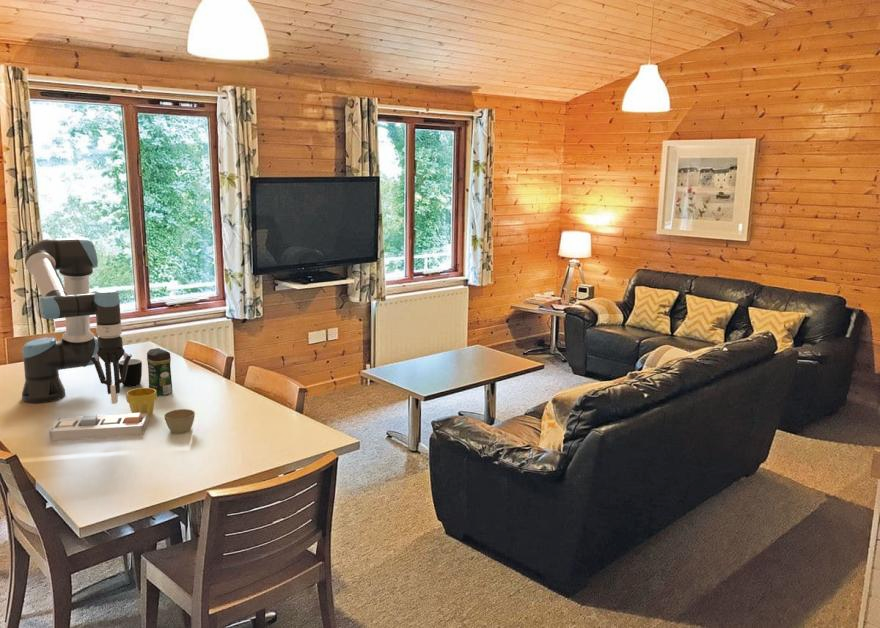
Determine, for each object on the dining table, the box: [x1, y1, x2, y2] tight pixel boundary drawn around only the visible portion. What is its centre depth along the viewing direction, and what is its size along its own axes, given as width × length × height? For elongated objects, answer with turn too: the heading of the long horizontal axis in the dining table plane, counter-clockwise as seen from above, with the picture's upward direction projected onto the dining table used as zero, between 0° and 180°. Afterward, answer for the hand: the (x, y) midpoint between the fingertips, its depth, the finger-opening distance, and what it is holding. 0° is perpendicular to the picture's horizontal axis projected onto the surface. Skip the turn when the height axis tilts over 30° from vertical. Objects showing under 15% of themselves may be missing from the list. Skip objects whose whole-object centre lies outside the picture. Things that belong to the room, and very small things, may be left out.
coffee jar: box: [146, 347, 174, 397], centre depth 289 cm, size 10×8×19 cm
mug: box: [119, 358, 143, 388], centre depth 301 cm, size 12×9×10 cm
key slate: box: [80, 414, 98, 426], centre depth 245 cm, size 4×4×2 cm
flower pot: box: [163, 408, 196, 435], centre depth 248 cm, size 10×10×7 cm
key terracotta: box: [125, 412, 141, 423], centre depth 248 cm, size 4×4×2 cm
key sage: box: [103, 418, 120, 425], centre depth 247 cm, size 4×4×2 cm
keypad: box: [48, 413, 149, 442], centre depth 246 cm, size 29×13×4 cm, turn 105°
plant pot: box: [126, 387, 158, 417], centre depth 263 cm, size 10×10×10 cm
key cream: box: [58, 420, 76, 428], centre depth 243 cm, size 4×4×2 cm
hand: (114, 402), depth 245 cm, fingers closed
